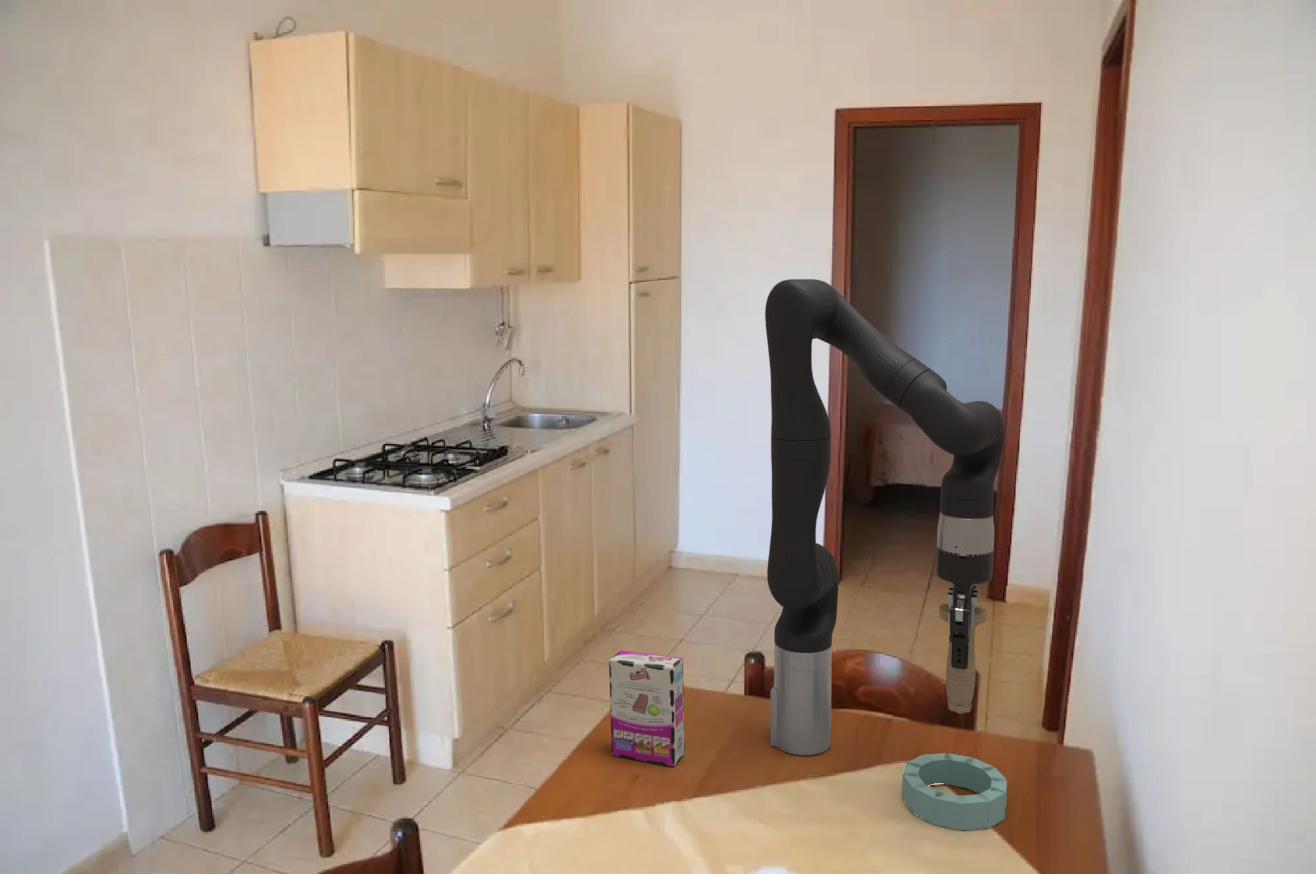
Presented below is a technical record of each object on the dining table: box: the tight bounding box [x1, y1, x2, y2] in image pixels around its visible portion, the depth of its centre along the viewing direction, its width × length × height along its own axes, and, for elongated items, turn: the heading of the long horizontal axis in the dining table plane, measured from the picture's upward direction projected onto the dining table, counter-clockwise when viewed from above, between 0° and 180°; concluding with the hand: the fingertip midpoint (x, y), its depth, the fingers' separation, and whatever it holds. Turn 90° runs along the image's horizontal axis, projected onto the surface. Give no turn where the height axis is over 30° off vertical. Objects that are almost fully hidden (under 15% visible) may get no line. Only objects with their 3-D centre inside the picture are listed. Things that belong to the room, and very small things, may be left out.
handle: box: [938, 603, 988, 715], centre depth 134 cm, size 5×6×15 cm
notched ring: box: [901, 752, 1008, 831], centre depth 137 cm, size 14×14×4 cm
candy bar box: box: [608, 649, 686, 767], centre depth 151 cm, size 11×5×16 cm, turn 68°
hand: (960, 662), depth 134 cm, fingers closed on handle, 3 cm apart
